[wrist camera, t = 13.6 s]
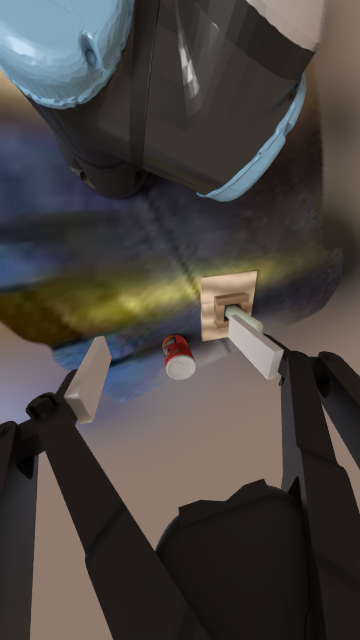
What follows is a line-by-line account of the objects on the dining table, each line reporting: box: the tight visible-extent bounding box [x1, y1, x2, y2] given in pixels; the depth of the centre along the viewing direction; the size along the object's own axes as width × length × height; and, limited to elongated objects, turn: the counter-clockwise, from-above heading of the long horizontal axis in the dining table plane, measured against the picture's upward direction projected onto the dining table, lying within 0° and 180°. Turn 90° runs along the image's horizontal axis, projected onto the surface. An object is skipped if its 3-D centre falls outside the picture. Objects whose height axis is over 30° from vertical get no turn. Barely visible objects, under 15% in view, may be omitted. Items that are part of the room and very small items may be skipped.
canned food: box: [162, 335, 196, 380], centre depth 44 cm, size 8×8×11 cm
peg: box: [224, 304, 263, 333], centre depth 41 cm, size 4×4×14 cm
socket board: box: [200, 271, 257, 341], centre depth 46 cm, size 20×16×4 cm
